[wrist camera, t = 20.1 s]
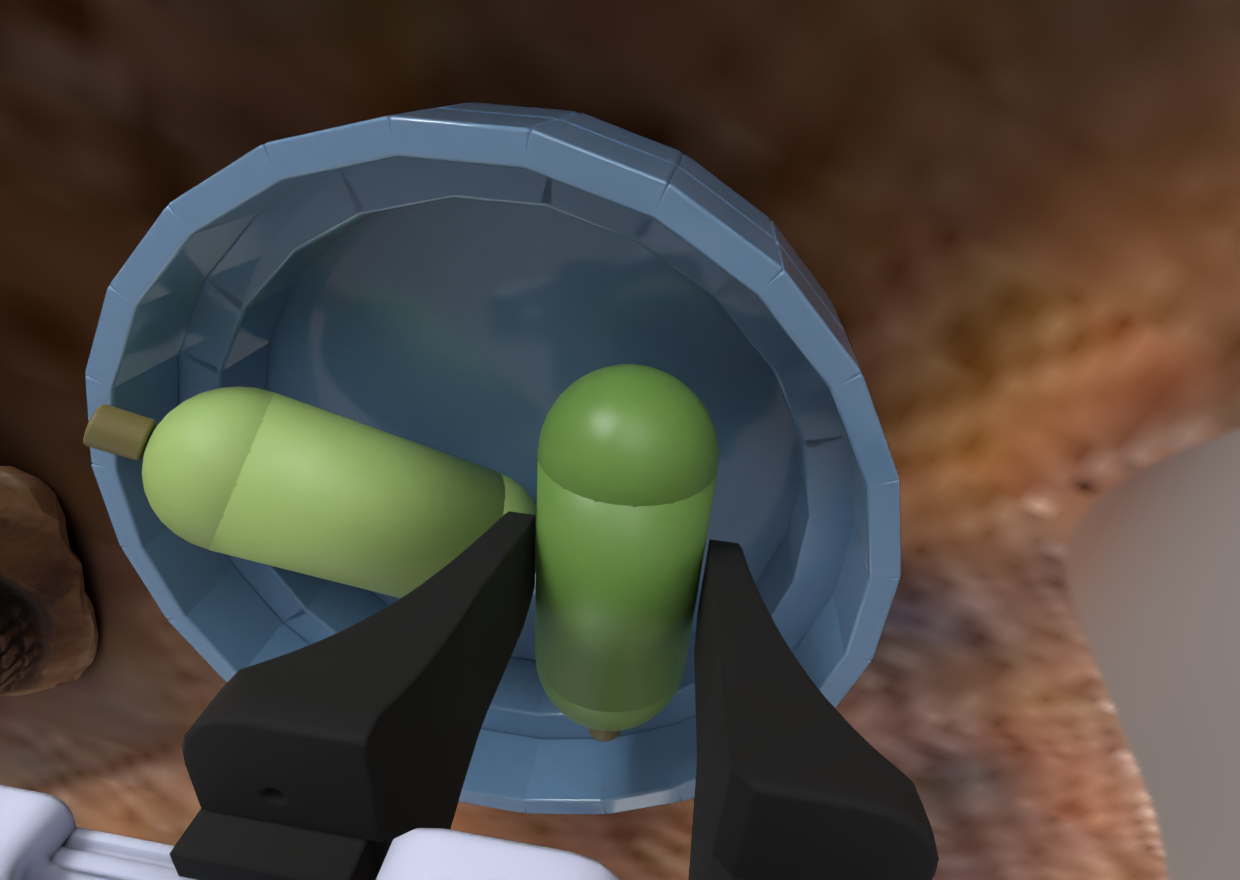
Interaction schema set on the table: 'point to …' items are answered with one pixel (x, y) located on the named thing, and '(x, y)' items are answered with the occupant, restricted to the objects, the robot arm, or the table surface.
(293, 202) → the bowl
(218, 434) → the pale zucchini
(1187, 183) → the table surface
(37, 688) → the coin bank
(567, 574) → the green zucchini
